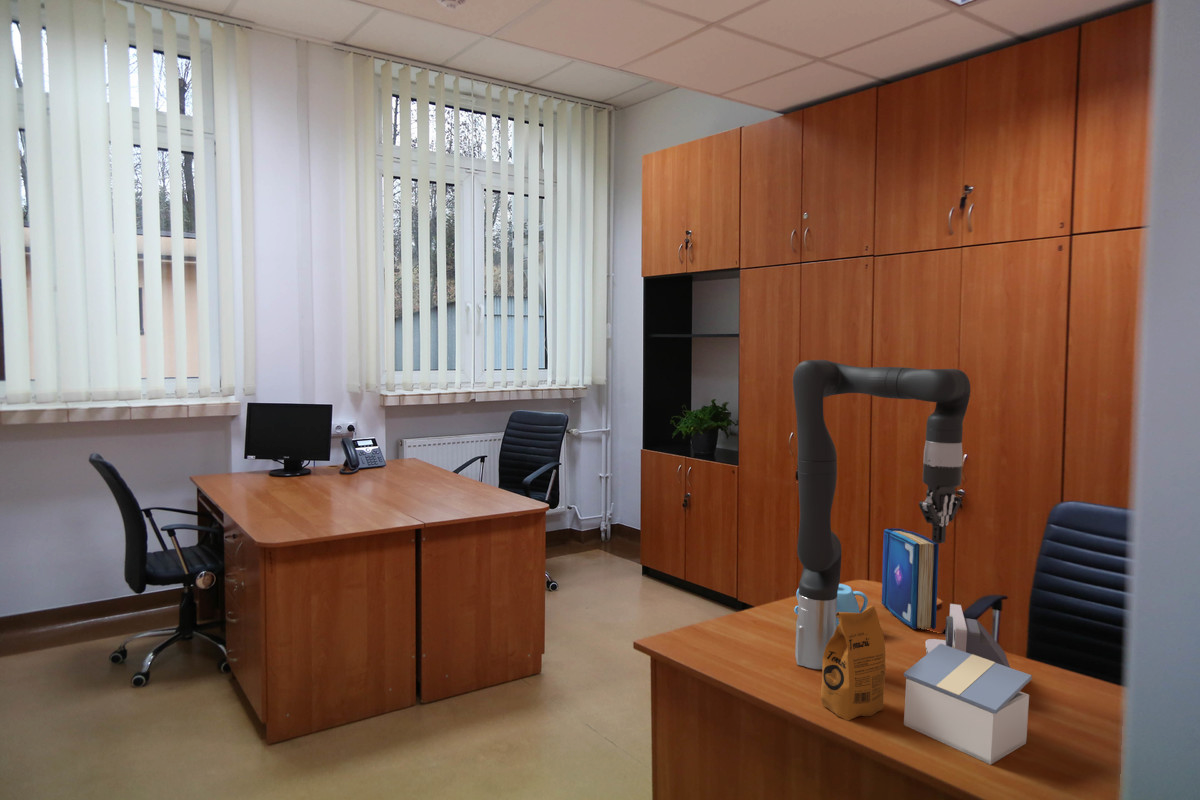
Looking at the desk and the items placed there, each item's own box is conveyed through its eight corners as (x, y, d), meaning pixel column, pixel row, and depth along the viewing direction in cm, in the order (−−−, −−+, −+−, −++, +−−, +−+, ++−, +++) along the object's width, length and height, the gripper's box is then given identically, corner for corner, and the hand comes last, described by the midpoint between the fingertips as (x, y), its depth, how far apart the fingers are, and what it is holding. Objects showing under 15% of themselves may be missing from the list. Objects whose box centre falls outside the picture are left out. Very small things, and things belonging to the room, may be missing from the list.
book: (877, 604, 230) (880, 524, 228) (899, 604, 231) (903, 524, 229) (912, 631, 209) (916, 543, 207) (936, 631, 209) (941, 543, 207)
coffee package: (813, 702, 166) (817, 605, 164) (856, 693, 171) (860, 598, 169) (845, 724, 157) (849, 621, 155) (890, 713, 162) (894, 613, 160)
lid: (996, 713, 141) (995, 709, 141) (904, 676, 156) (903, 672, 156) (1031, 678, 149) (1031, 674, 148) (940, 646, 164) (940, 643, 164)
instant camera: (926, 653, 194) (929, 596, 193) (1018, 672, 184) (1021, 612, 183) (914, 684, 176) (917, 622, 175) (1015, 707, 166) (1019, 641, 165)
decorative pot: (824, 642, 200) (826, 592, 199) (788, 621, 215) (790, 574, 214) (873, 635, 206) (876, 586, 205) (835, 614, 221) (837, 569, 220)
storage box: (990, 764, 142) (993, 713, 141) (903, 724, 157) (906, 678, 156) (1026, 743, 150) (1029, 694, 149) (940, 707, 165) (943, 662, 164)
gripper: (942, 457, 167) (938, 534, 168) (908, 462, 159) (904, 542, 160) (976, 462, 161) (971, 542, 162) (942, 467, 153) (937, 551, 154)
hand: (938, 542), depth 161 cm, fingers closed
